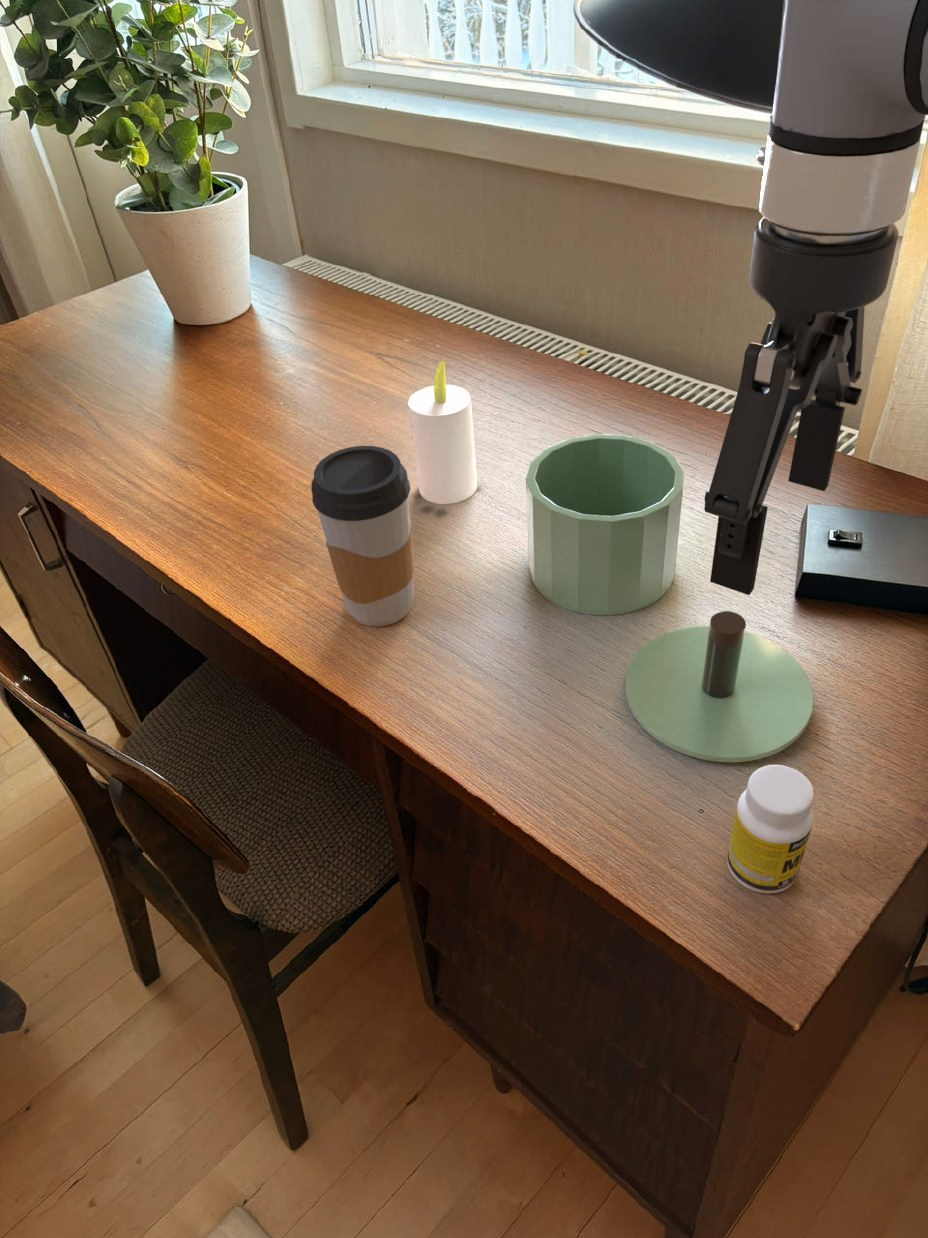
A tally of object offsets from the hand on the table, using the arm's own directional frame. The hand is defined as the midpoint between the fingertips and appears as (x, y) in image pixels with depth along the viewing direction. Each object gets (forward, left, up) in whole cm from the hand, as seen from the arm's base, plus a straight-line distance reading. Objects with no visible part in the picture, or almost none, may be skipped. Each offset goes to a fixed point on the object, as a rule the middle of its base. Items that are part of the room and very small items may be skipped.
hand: (772, 532), depth 66 cm
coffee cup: (+33, +7, -16) cm, 37 cm away
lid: (+2, +2, -16) cm, 16 cm away
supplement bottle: (-7, +15, -16) cm, 23 cm away
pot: (+18, -8, -16) cm, 25 cm away
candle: (+39, -12, -16) cm, 44 cm away
